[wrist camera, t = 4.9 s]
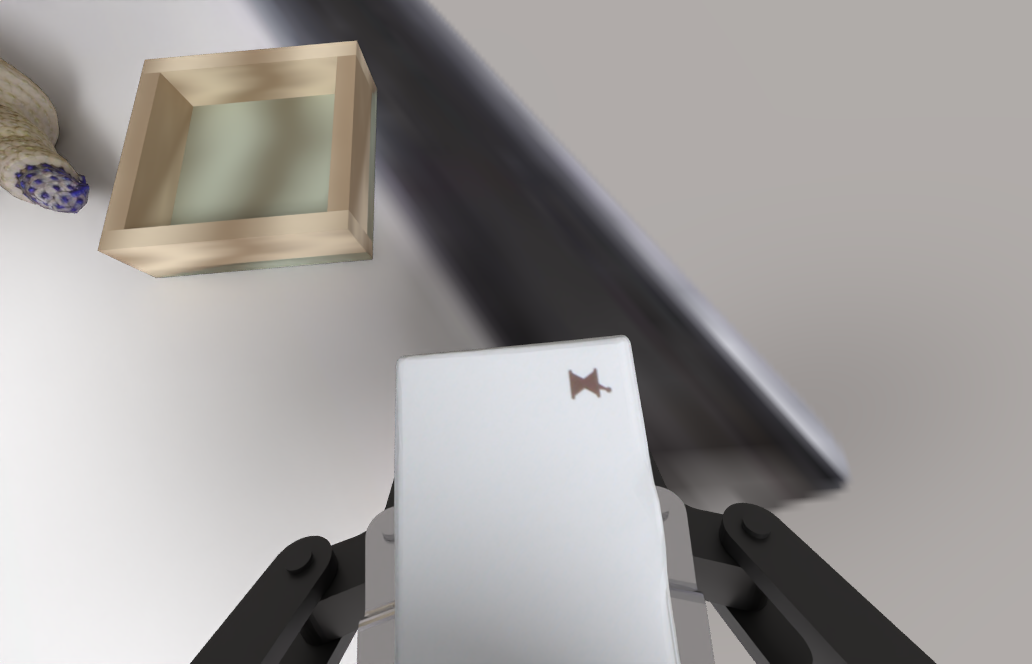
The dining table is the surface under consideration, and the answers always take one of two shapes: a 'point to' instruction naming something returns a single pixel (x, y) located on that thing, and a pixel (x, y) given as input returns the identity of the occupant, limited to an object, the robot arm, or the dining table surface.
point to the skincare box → (527, 510)
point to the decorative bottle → (34, 147)
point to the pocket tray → (247, 162)
